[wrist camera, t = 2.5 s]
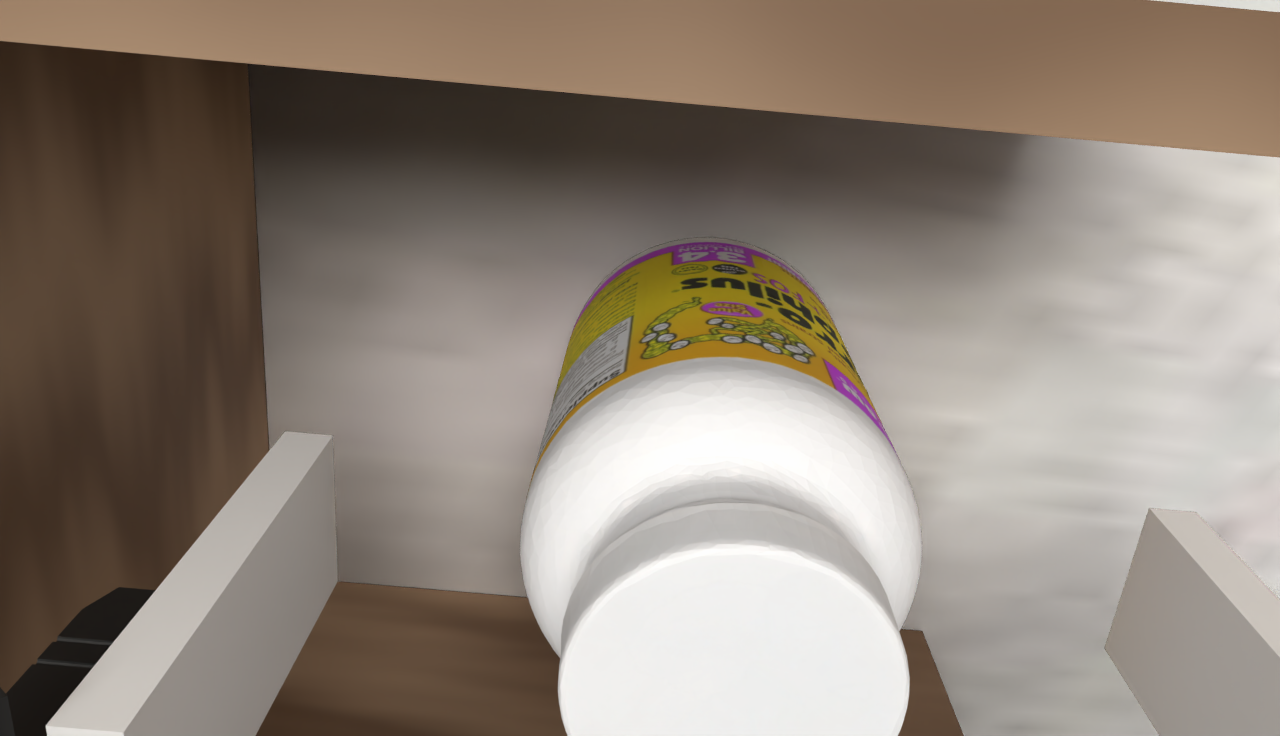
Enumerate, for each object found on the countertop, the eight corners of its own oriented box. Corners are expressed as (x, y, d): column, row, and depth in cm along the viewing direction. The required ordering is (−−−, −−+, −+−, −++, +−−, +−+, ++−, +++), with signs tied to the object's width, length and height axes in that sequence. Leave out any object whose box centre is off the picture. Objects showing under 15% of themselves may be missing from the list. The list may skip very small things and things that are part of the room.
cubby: (912, 674, 28) (1153, 1347, 14) (225, 617, 28) (-204, 1244, 14) (1064, 3, 22) (1770, 51, 8) (170, -80, 22) (-719, -181, 8)
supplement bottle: (890, 337, 25) (1102, 673, 13) (720, 521, 27) (768, 960, 15) (678, 171, 23) (696, 374, 11) (515, 378, 25) (387, 734, 13)
